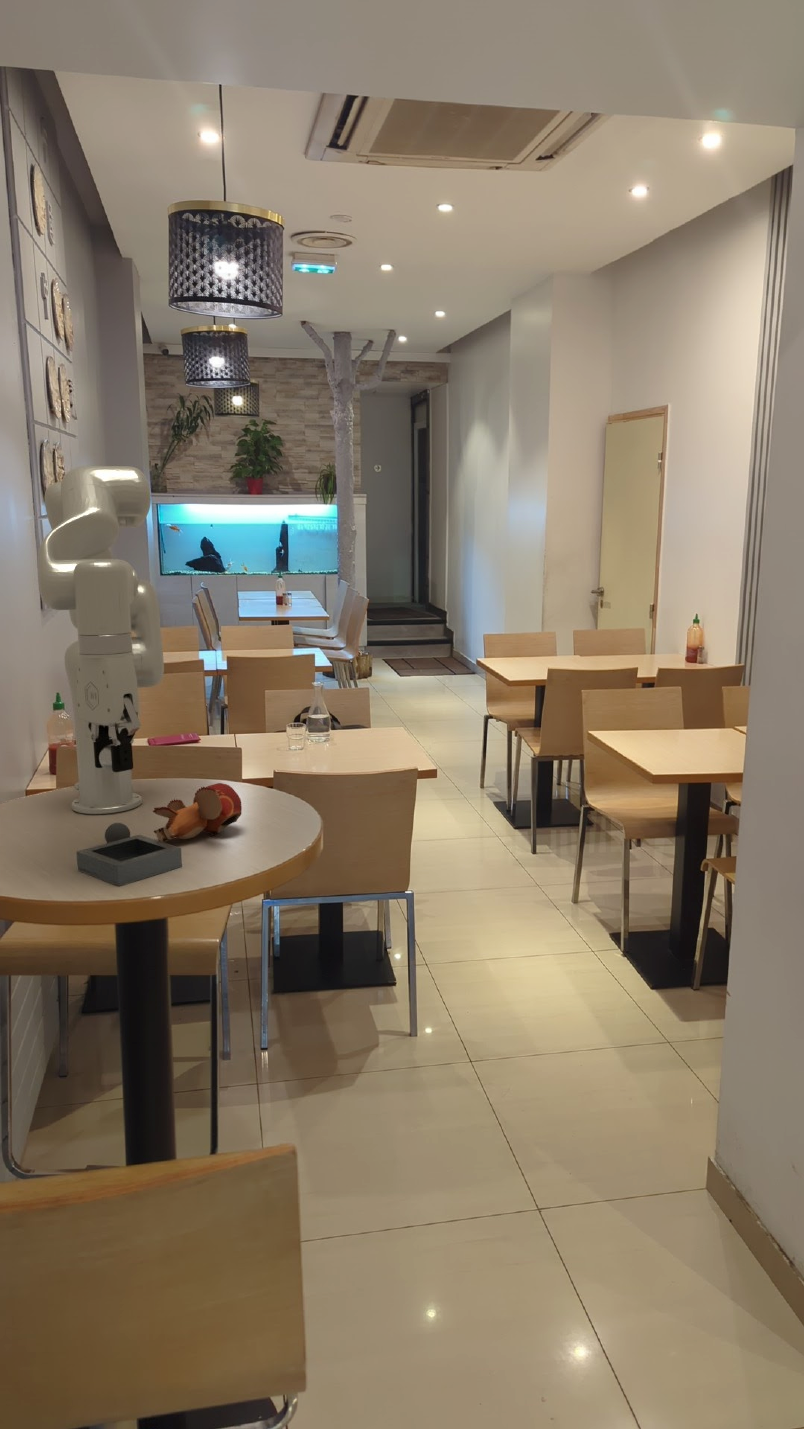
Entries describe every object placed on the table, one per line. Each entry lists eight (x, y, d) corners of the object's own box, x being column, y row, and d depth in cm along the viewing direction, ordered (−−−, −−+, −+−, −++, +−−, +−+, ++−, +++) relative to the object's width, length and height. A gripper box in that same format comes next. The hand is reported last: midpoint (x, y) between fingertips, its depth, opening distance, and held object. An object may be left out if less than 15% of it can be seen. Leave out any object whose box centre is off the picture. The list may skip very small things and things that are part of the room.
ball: (100, 847, 158) (98, 823, 158) (122, 841, 161) (120, 818, 161) (114, 852, 156) (112, 828, 155) (135, 846, 159) (134, 822, 158)
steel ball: (94, 771, 145) (92, 745, 145) (118, 766, 148) (116, 740, 147) (109, 774, 143) (107, 748, 142) (133, 770, 145) (131, 743, 145)
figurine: (200, 849, 151) (274, 809, 160) (175, 798, 151) (251, 761, 160) (150, 865, 166) (221, 828, 176) (128, 819, 166) (200, 784, 175)
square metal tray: (77, 870, 147) (76, 851, 147) (140, 852, 155) (139, 834, 155) (118, 886, 140) (117, 866, 139) (182, 866, 148) (181, 847, 148)
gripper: (53, 645, 145) (62, 765, 148) (113, 651, 134) (122, 781, 137) (98, 641, 151) (106, 757, 154) (160, 646, 139) (168, 771, 142)
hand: (114, 767), depth 145 cm, fingers closed on steel ball, 4 cm apart
